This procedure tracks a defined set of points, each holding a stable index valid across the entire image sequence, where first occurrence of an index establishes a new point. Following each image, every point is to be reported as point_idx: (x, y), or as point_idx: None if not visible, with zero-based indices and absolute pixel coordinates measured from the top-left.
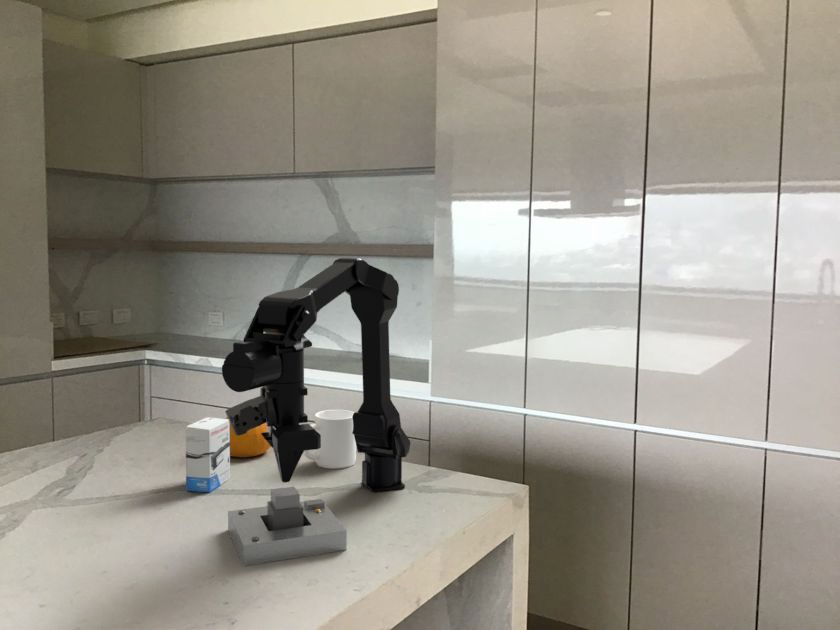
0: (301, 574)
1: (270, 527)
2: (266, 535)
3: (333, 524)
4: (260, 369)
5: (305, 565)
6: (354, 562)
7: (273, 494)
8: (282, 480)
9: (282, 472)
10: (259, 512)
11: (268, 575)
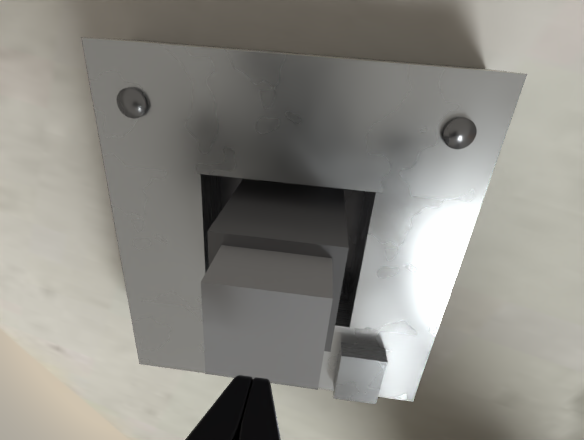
0: (44, 185)
1: (288, 199)
2: (162, 154)
3: (190, 354)
4: None
5: (97, 212)
6: (92, 310)
7: (261, 286)
8: (230, 383)
9: (190, 437)
10: (415, 202)
11: (49, 98)
